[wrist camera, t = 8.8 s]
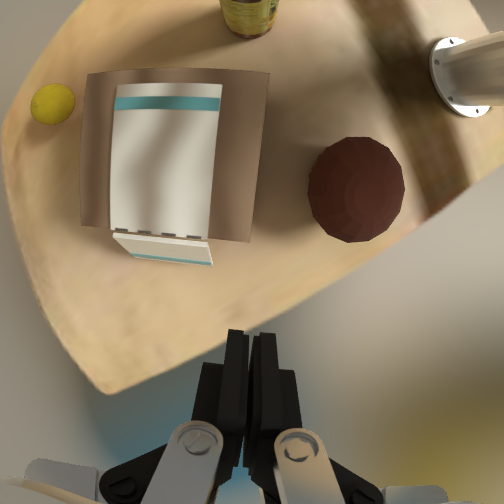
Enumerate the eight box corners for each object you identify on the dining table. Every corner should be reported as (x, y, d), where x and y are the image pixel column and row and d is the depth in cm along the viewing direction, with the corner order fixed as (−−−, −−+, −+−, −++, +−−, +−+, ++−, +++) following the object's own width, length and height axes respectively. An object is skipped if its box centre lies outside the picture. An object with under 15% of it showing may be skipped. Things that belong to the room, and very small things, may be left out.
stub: (207, 242, 29) (206, 248, 29) (212, 262, 37) (212, 267, 37) (113, 232, 29) (112, 238, 29) (135, 253, 36) (134, 258, 36)
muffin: (307, 127, 34) (326, 123, 25) (388, 147, 35) (428, 152, 25) (292, 219, 38) (304, 246, 29) (370, 232, 39) (402, 260, 30)
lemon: (79, 80, 31) (46, 72, 24) (88, 112, 33) (55, 110, 26) (51, 99, 32) (16, 96, 24) (60, 131, 34) (25, 133, 26)
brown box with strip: (265, 90, 33) (269, 71, 23) (250, 216, 38) (249, 244, 28) (125, 86, 32) (84, 73, 22) (117, 204, 38) (78, 227, 28)
